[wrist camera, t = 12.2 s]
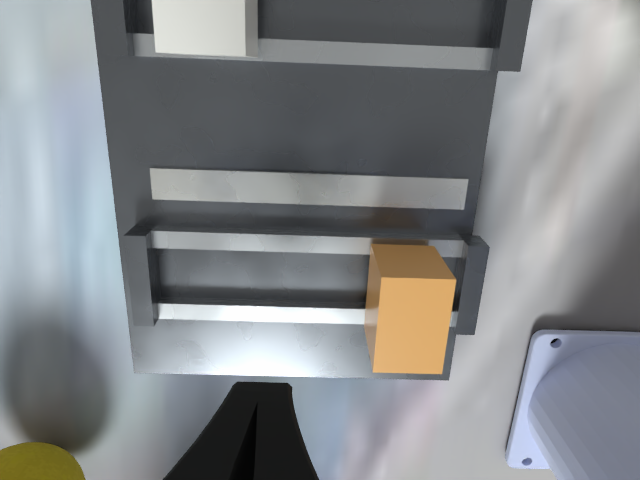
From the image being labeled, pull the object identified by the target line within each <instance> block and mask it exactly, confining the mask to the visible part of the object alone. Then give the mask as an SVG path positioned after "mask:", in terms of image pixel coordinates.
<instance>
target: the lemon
mask: <svg viewBox="0 0 640 480" xmlns="http://www.w3.org/2000/svg"><path fill="white" fill-rule="evenodd" d="M0 480H85V477H84V474H83V471H82V469H81V467H80V465H79V464H78V462H77V461H76V460H75V458H74V457H73V456H72V455H71V454H70V453H68V452H67V451H66V450H64V449H62V448H60V447H58V446H56V445H53V444H50V443H43V442H26V443H21V444H17V445H13V446H10V447H7V448H4V449H2V450H0Z"/></svg>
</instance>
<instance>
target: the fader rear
mask: <svg viewBox="0 0 640 480" xmlns="http://www.w3.org/2000/svg"><path fill="white" fill-rule="evenodd" d="M455 285H456V278H455V277H454V275H453V274H452V272H451V271H450V269H449V268H448V266H447V265H446V263H445V262H444V260H443V259H442V257H441V256H440V254H439V253H438V251H437V250H436V248H435V247H434V246H423V245H391V244H371V247H370V260H369V272H368V285H367V297H366V309H365V322H364V329H365V335H366V340H367V345H368V350H369V355H370V361H371V366H372V371H373V373H414V374H442V371H443V364H444V358H445V351H446V345H447V338H448V331H449V325H450V318H451V312H452V305H453V299H454V292H455Z"/></svg>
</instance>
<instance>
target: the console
mask: <svg viewBox="0 0 640 480" xmlns="http://www.w3.org/2000/svg"><path fill="white" fill-rule="evenodd" d="M532 1H533V0H258V58H253V57H228V56H204V55H182V54H169V53H156V51H155V38H154V25H153V12H152V0H91V6H92V15H93V23H94V32H95V41H96V49H97V58H98V66H99V75H100V84H101V92H102V101H103V109H104V118H105V126H106V135H107V144H108V152H109V161H110V169H111V178H112V186H113V195H114V204H115V212H116V221H117V229H118V238H119V246H120V255H121V264H122V272H123V281H124V289H125V298H126V306H127V315H128V324H129V332H130V341H131V349H132V358H133V366H134V373H162V374H204V375H247V376H289V377H331V378H373V379H415V380H449V376H450V370H451V363H452V357H453V351H454V344H455V338H456V334H460V335H474V334H475V328H476V323H477V317H478V311H479V305H480V300H481V294H482V288H483V282H484V277H485V271H486V265H487V259H488V254H489V248H490V247H489V246H488V245H487V244H486V243H485V242H484V241H483V240H482V239H481V237H480V236H472V231H473V224H474V218H475V212H476V205H477V199H478V193H479V187H480V180H481V174H482V168H483V161H484V155H485V149H486V142H487V136H488V130H489V123H490V117H491V111H492V105H493V98H494V92H495V86H496V79H497V73H498V71H517V72H520V70H521V64H522V58H523V52H524V47H525V41H526V35H527V29H528V24H529V18H530V12H531V6H532ZM371 244H391V245H423V246H434V247H435V248H436V250H437V251H438V253H439V254H440V256H441V257H442V259H443V260H444V262H445V263H446V265H447V266H448V268H449V269H450V271H451V272H452V274H453V275H454V277H455V278H456V285H455V292H454V299H453V305H452V312H451V318H450V325H449V331H448V338H447V345H446V351H445V358H444V364H443V371H442V374H414V373H373V371H372V366H371V361H370V355H369V350H368V345H367V340H366V335H365V329H364V322H365V309H366V297H367V285H368V272H369V260H370V247H371Z"/></svg>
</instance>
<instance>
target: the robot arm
mask: <svg viewBox="0 0 640 480" xmlns="http://www.w3.org/2000/svg"><path fill="white" fill-rule="evenodd" d="M556 338H558V339H557V341H556V342H554V343H551V341H552V340H553V339H556ZM550 343H551V344H550ZM525 458H526V459H525ZM505 459H506V462H507V464H508V465H509V466H510V467H512V468H531V469H551V470H552V472H553V473H554V475H555V477H556V478H557V480H640V332H618V331H580V330H539V331H537V332H535V333H534V334H533V336H532V338H531V342H530V346H529V351H528V355H527V360H526V364H525V369H524V373H523V378H522V382H521V387H520V391H519V396H518V400H517V405H516V409H515V414H514V418H513V423H512V427H511V432H510V436H509V441H508V445H507V450H506V454H505ZM163 480H319V478H318V476H317V474H316V471H315V469H314V467H313V465H312V462H311V460H310V457H309V455H308V452H307V449H306V446H305V443H304V441H303V438H302V435H301V432H300V429H299V425H298V422H297V418H296V414H295V410H294V405H293V399H292V387H291V386H290V385H289V384H288V383H268V382H237V383H235V384H234V385H233V386H232V388H231V390H230V391H229V393H228V395H227V396H226V398H225V400H224V401H223V403H222V404H221V406H220V407H219V409H218V410H217V412H216V413H215V415H214V416H213V418H212V419H211V420H210V422H209V423H208V425H207V426H206V427H205V429H204V430H203V431H202V433H201V434H200V435H199V437H198V438H197V439H196V441H195V442H194V443H193V444H192V446H191V447H190V448H189V449H188V451H187V452H186V453H185V454H184V455H183V457H182V458H181V459H180V460H179V461H178V463H177V464H176V465H175V466H174V467H173V468H172V470H171V471H170V472H169V473H168V474H167V475H166V477H165V478H164V479H163Z"/></svg>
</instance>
